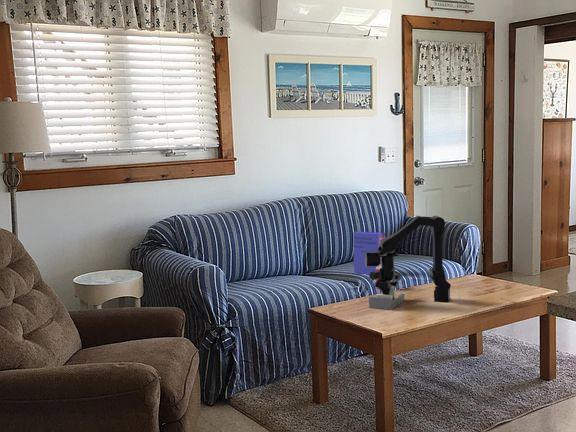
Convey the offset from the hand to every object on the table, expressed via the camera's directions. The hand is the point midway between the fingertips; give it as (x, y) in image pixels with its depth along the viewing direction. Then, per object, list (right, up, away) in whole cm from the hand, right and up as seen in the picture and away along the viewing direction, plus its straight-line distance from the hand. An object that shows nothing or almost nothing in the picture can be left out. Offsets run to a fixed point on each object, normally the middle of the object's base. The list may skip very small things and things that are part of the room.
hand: (388, 298), depth 304 cm
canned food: (+2, +1, +29) cm, 29 cm away
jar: (0, -1, 0) cm, 1 cm away
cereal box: (0, +5, +64) cm, 64 cm away
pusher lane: (0, -2, -1) cm, 2 cm away
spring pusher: (-2, -2, -4) cm, 5 cm away
